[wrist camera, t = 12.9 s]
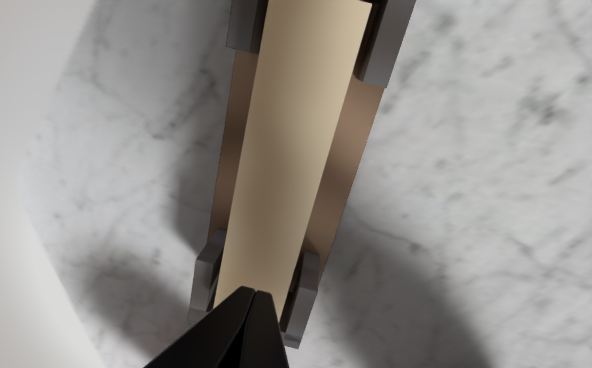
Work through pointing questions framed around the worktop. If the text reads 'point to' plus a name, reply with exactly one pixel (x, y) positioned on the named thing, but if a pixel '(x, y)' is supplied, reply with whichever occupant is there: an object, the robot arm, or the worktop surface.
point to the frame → (339, 165)
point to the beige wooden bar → (288, 138)
